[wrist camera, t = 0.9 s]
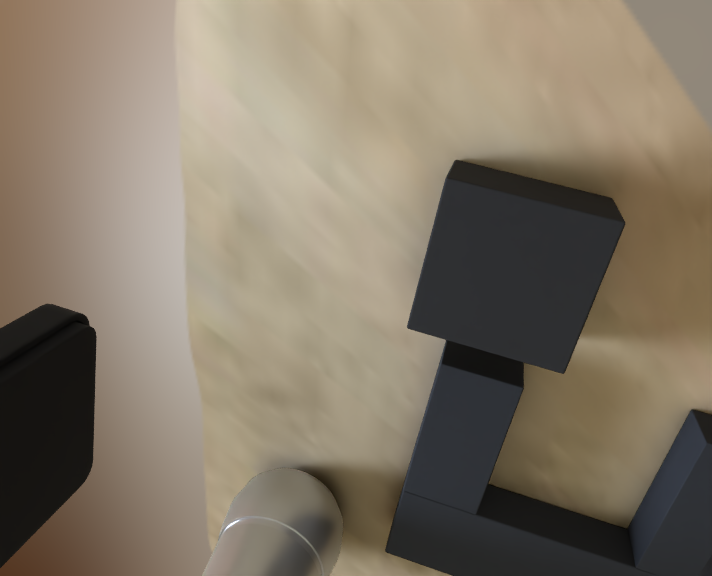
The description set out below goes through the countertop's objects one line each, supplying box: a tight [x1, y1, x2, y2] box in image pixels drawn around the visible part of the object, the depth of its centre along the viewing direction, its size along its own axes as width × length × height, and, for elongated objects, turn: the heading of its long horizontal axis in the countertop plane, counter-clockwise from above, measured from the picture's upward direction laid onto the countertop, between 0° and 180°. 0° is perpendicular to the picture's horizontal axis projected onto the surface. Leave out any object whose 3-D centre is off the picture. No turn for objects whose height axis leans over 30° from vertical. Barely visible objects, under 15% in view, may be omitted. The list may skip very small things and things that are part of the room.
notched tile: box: [385, 340, 712, 576], centre depth 29 cm, size 12×15×2 cm
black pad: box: [407, 160, 625, 374], centre depth 25 cm, size 7×7×4 cm
